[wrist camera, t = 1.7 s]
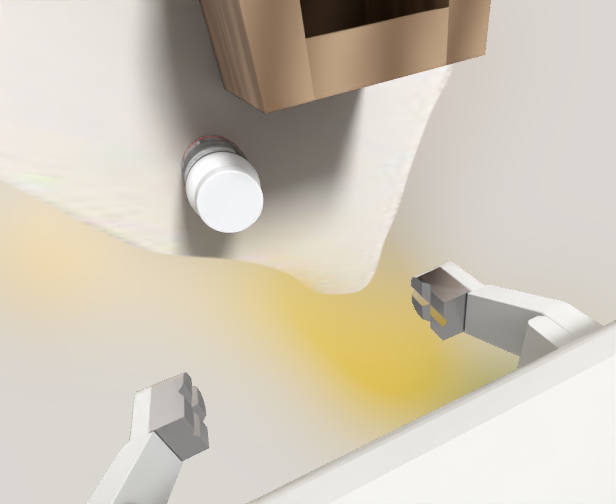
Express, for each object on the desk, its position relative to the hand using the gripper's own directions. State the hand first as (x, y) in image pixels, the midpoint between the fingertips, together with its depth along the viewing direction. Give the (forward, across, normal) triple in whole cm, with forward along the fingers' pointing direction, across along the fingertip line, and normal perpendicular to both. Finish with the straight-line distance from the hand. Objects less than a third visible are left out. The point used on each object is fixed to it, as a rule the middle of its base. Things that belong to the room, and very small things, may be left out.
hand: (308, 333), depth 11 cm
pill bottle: (+25, +1, +1) cm, 25 cm away
